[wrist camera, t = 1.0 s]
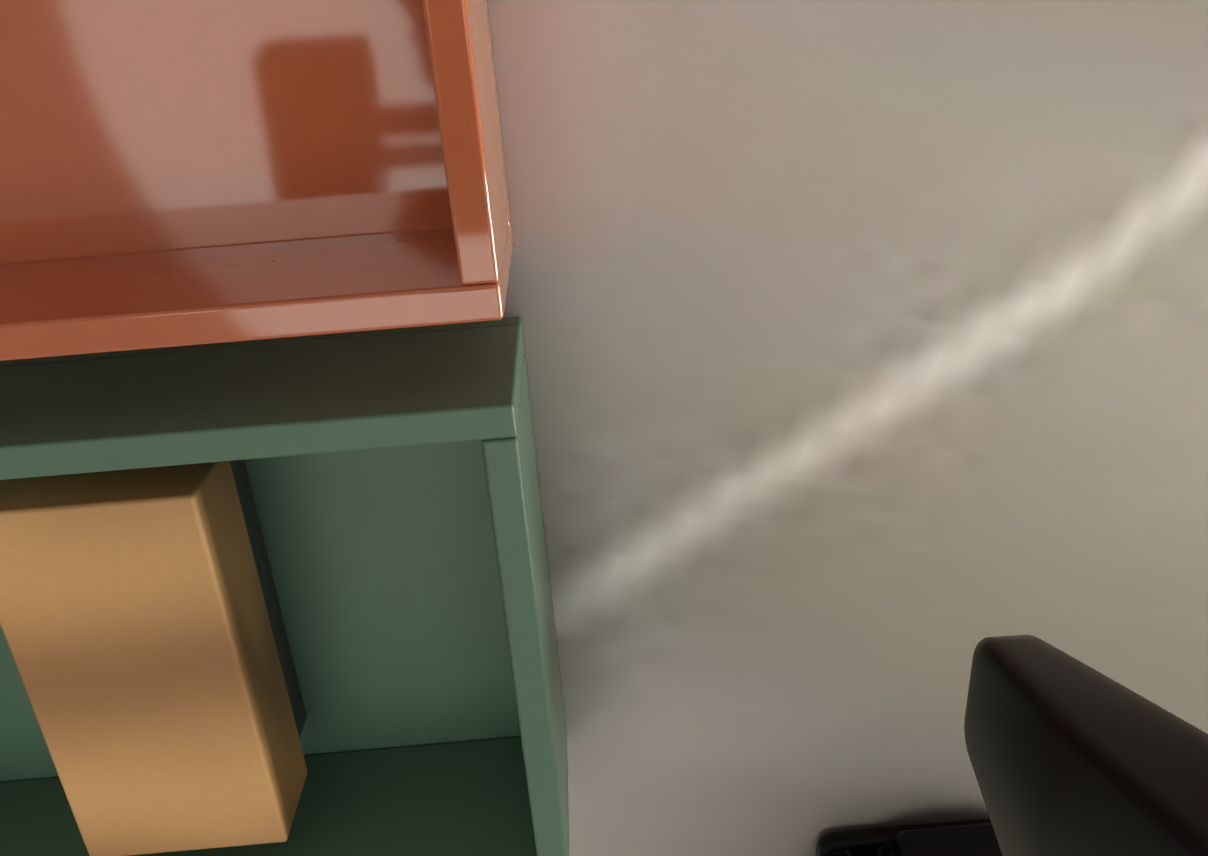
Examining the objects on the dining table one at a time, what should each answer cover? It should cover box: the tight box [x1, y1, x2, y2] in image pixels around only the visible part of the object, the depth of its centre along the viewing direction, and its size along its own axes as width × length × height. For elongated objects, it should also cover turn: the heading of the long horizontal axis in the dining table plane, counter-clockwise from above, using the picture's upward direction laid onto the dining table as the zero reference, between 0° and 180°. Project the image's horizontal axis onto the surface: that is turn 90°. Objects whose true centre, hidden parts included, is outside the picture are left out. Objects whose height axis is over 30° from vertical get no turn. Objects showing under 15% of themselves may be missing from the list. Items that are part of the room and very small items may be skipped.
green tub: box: [0, 317, 569, 856], centre depth 20 cm, size 11×15×4 cm
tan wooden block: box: [0, 460, 308, 856], centre depth 20 cm, size 8×4×4 cm, turn 4°
